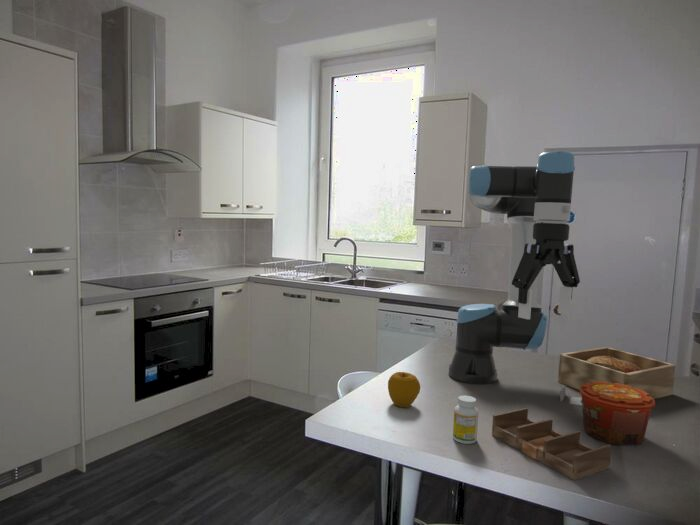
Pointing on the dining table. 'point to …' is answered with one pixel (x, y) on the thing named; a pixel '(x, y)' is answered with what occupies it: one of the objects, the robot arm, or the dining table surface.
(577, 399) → the bracket
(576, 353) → the bread crate
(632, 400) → the food container
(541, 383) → the dining table surface
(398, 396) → the apple
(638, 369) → the bread
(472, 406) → the supplement bottle
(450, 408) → the dining table surface
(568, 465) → the rack
